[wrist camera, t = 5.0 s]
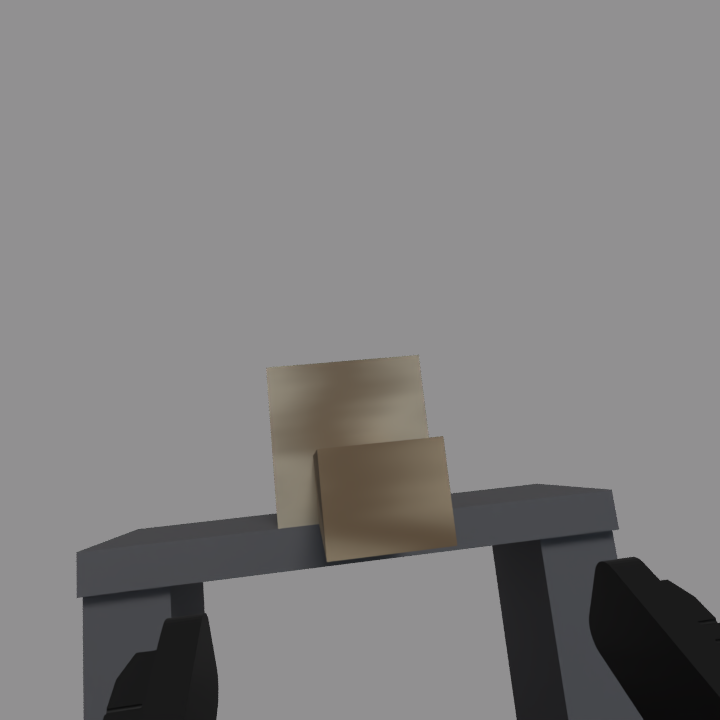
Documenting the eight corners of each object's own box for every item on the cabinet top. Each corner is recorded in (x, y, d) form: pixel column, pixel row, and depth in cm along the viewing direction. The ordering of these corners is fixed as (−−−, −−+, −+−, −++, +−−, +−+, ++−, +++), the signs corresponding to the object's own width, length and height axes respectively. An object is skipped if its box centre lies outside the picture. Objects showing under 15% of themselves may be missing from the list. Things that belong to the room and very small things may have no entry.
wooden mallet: (408, 500, 26) (394, 378, 27) (520, 538, 12) (482, 291, 14) (284, 514, 25) (275, 389, 27) (258, 570, 12) (242, 308, 13)
